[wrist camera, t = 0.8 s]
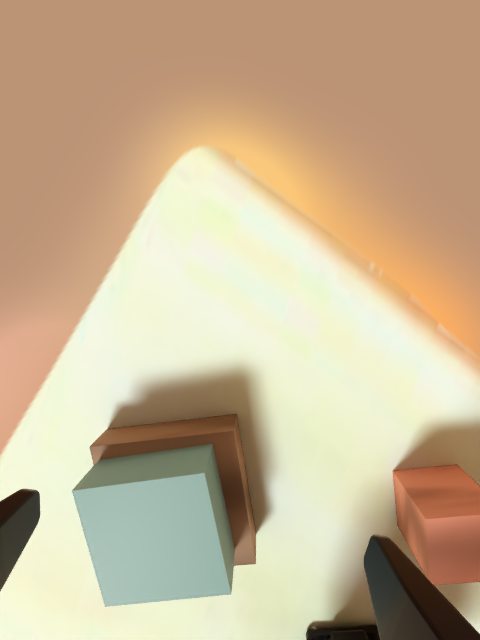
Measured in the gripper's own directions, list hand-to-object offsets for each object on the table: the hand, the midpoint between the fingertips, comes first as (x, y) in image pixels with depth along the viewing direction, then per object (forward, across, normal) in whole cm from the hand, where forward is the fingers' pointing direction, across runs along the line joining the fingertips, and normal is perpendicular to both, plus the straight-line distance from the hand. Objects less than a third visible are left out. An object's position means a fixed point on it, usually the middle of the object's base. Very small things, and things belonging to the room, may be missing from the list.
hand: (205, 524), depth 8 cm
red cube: (+12, -16, +9) cm, 22 cm away
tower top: (+10, +3, +11) cm, 15 cm away
